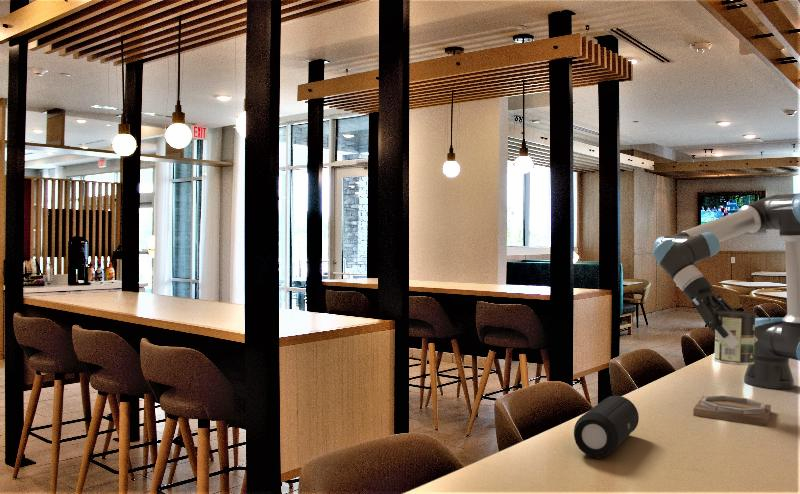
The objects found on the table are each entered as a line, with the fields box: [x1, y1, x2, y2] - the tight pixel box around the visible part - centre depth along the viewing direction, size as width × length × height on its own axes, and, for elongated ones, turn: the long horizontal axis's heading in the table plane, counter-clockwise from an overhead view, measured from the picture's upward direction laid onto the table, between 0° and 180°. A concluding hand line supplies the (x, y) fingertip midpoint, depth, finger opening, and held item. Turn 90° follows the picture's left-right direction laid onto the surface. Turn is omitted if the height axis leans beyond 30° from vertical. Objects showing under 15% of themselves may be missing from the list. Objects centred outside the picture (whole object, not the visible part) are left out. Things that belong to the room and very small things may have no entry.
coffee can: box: [713, 310, 757, 366], centre depth 195 cm, size 10×10×14 cm
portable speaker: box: [573, 395, 640, 458], centre depth 162 cm, size 26×10×10 cm, turn 149°
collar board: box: [692, 394, 772, 427], centre depth 195 cm, size 18×18×3 cm
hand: (745, 344), depth 192 cm, fingers closed on coffee can, 10 cm apart
